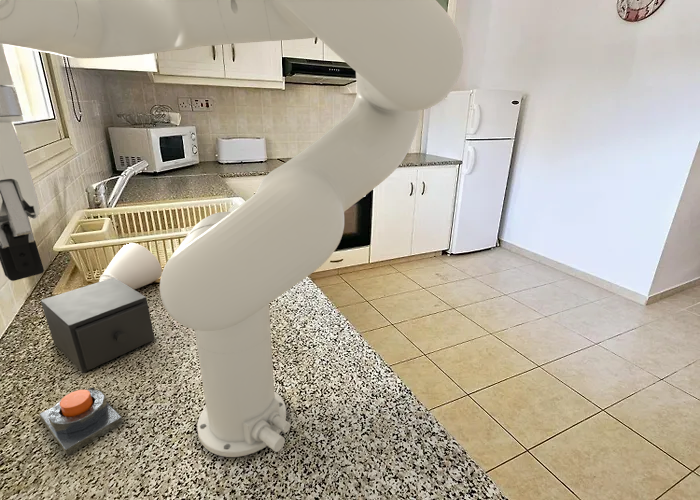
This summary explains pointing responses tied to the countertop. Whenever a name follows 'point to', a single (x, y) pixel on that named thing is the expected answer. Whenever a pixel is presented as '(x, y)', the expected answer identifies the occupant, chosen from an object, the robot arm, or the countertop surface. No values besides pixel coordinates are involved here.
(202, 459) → the countertop surface
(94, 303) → the grey drawer box
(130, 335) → the dark grey drawer
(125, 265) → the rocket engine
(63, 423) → the control block
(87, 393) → the button
